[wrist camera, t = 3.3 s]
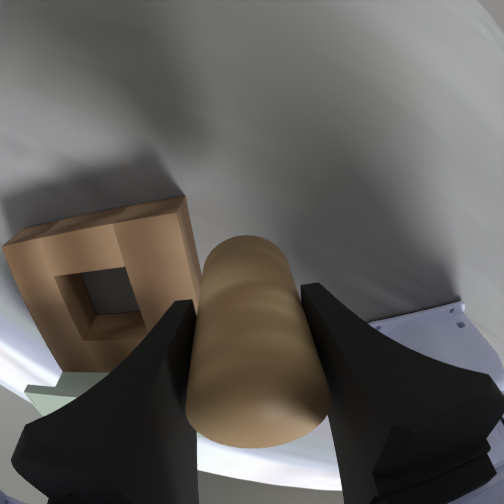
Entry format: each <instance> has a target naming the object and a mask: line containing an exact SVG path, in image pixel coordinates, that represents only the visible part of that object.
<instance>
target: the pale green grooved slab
mask: <svg viewBox="0 0 504 504" xmlns="http://www.w3.org/2000/svg"><path fill="white" fill-rule="evenodd" d="M108 374H109V373H94V372H62V374H61V376H60V378H59V380H58V383H57V385H56V387H48V386H37V385H27V387H26V389H25V391H24V393H25V394H26V396H27V397H28V398H29V400H30V401H31V402H32V403H33V405H34V406H35V407H36V409H37V410H38V411H39V412H40V413H41V415H42V416H43V417H44V416H46V415H48V414H50V413H52V412H54V411H55V410H57V409H59V408H61V407H63V406H64V405H66V404H68V403H69V402H71V401H73V400H74V399H76V398H77V397H79V396H80V395H82V394H83V393H85V392H86V391H87V390H89V389H90V388H91V387H93V386H94V385H95V384H97V383H98V382H99V381H101V380H102V379H103V378H104V377H106V376H107V375H108ZM197 437H204V436H203V435H201V434H200V433H198V432H197Z"/></svg>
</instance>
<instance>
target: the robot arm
mask: <svg viewBox="0 0 504 504" xmlns="http://www.w3.org/2000/svg"><path fill="white" fill-rule="evenodd" d="M301 304H302V307H303V310H304V313H305V316H306V319H307V322H308V325H309V328H310V331H311V334H312V337H313V340H314V343H315V346H316V350H317V353H318V356H319V359H320V362H321V365H322V368H323V372H324V375H325V378H326V381H327V384H328V388H329V391H330V395H331V406H330V410H329V412H328V414H327V415H328V418H329V422H330V427H331V432H332V436H333V441H334V446H335V451H336V456H337V461H338V467H339V473H340V478H341V484H342V491H343V496H344V504H504V370H503V366H502V363H501V360H500V358H499V356H498V354H497V353H496V351H495V350H494V349H493V348H492V346H491V345H490V344H489V343H488V341H487V340H486V339H485V338H484V337H483V335H482V334H481V333H480V332H479V331H478V329H477V328H476V327H475V326H474V325H473V323H472V322H471V321H470V320H469V319H468V318H467V316H466V315H465V314H464V313H463V311H464V308H465V304H464V303H463V302H462V301H459V302H455V303H451V304H447V305H444V306H440V307H436V308H432V309H428V310H423V311H419V312H415V313H411V314H406V315H402V316H397V317H393V318H388V319H384V320H379V321H374V322H370V323H366V322H365V321H363V320H362V319H361V318H359V317H358V316H357V315H356V314H354V313H353V312H352V311H351V310H349V309H348V308H347V307H346V306H345V305H343V304H342V303H341V302H340V301H339V300H338V299H336V298H335V297H334V296H333V295H332V294H331V293H330V292H329V291H328V290H327V289H325V288H324V287H323V286H322V285H321V284H320V283H312V284H305V285H301ZM196 317H197V315H196V311H195V307H194V303H193V300H192V299H187V300H178V301H174V303H173V304H172V305H171V306H170V307H169V309H168V310H167V311H166V312H165V314H164V315H163V316H162V317H161V319H160V320H159V321H158V322H157V324H156V325H155V326H154V327H153V328H152V330H151V331H150V332H149V333H148V335H147V336H146V337H145V338H144V339H143V340H142V341H141V342H140V343H139V345H138V346H137V347H136V348H135V349H134V350H133V351H132V352H131V353H130V354H129V355H128V356H127V357H126V358H125V359H124V360H123V361H122V362H121V363H120V364H119V365H118V366H117V367H116V368H115V369H114V370H113V371H111V372H110V373H109V374H108V375H107V376H106V377H104V378H103V379H102V380H101V381H99V382H98V383H97V384H95V385H94V386H93V387H91V388H90V389H89V390H87V391H86V392H85V393H83V394H82V395H80V396H79V397H77V398H76V399H74V400H73V401H71V402H69V403H68V404H66V405H64V406H63V407H61V408H59V409H57V410H55V411H54V412H52V413H50V414H48V415H46V416H44V417H41V418H39V419H37V420H35V421H33V422H31V423H29V424H26V425H25V427H24V429H23V431H22V434H21V436H20V438H19V441H18V443H17V446H16V448H15V451H14V453H13V456H12V458H11V462H12V465H13V467H14V468H15V470H16V471H17V472H18V473H19V474H20V475H21V476H22V477H23V478H24V479H25V480H26V481H28V482H29V483H30V484H31V485H33V486H34V487H35V488H36V489H38V490H39V491H40V492H42V493H43V494H45V495H46V496H47V497H48V498H49V499H48V503H47V504H199V495H198V481H197V480H198V479H197V431H196V430H195V429H194V428H193V427H192V426H191V424H190V423H189V421H188V419H187V416H186V411H185V407H186V398H187V389H188V380H189V371H190V363H191V355H192V347H193V339H194V332H195V324H196ZM378 326H379V327H378ZM376 327H378V328H376ZM0 504H27V503H24V502H22V501H19V500H17V499H14V498H12V497H9V496H7V495H6V494H5V493H4V492H3V491H2V490H0Z"/></svg>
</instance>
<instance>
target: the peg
mask: <svg viewBox="0 0 504 504" xmlns="http://www.w3.org/2000/svg"><path fill="white" fill-rule="evenodd" d="M330 406H331V395H330V391H329V388H328V384H327V381H326V378H325V375H324V372H323V368H322V365H321V362H320V359H319V356H318V353H317V350H316V346H315V343H314V340H313V337H312V334H311V331H310V328H309V325H308V322H307V319H306V316H305V313H304V310H303V307H302V304H301V301H300V298H299V295H298V292H297V289H296V286H295V283H294V280H293V277H292V274H291V271H290V268H289V265H288V262H287V259H286V257H285V255H284V254H283V252H282V251H281V250H280V249H279V248H278V247H277V246H276V245H275V244H274V243H272V242H270V241H269V240H266V239H264V238H261V237H257V236H249V235H245V236H237V237H233V238H230V239H228V240H225V241H223V242H222V243H220V244H219V245H218V246H216V247H215V248H214V249H213V250H212V251H211V253H210V254H209V255H208V257H207V259H206V261H205V264H204V269H203V275H202V282H201V289H200V295H199V302H198V310H197V317H196V324H195V332H194V339H193V347H192V355H191V363H190V371H189V380H188V389H187V398H186V407H185V411H186V416H187V419H188V421H189V423H190V424H191V426H192V427H193V428H194V429H195V430H196V431H197V432H198V433H200V434H201V435H203V436H204V437H206V438H208V439H210V440H212V441H214V442H217V443H220V444H223V445H227V446H232V447H238V448H266V447H272V446H277V445H282V444H285V443H288V442H291V441H294V440H296V439H298V438H300V437H302V436H304V435H306V434H308V433H309V432H311V431H312V430H314V429H315V428H316V427H317V426H318V425H319V424H320V423H321V422H322V421H323V420H324V419H325V417H326V416H327V414H328V412H329V410H330Z"/></svg>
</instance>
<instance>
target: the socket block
mask: <svg viewBox="0 0 504 504" xmlns="http://www.w3.org/2000/svg"><path fill="white" fill-rule="evenodd" d="M2 250H3V252H4V255H5V257H6V260H7V263H8V265H9V268H10V270H11V272H12V275H13V277H14V280H15V282H16V284H17V286H18V289H19V291H20V293H21V295H22V298H23V300H24V302H25V304H26V306H27V308H28V310H29V312H30V314H31V316H32V318H33V320H34V322H35V324H36V326H37V328H38V330H39V332H40V333H41V335H42V337H43V339H44V341H45V343H46V344H47V346H48V348H49V350H50V351H51V353H52V355H53V357H54V358H55V360H56V362H57V363H58V365H59V367H60V368H61V370H62V371H63V372H94V373H110V372H111V371H113V370H114V369H115V368H116V367H117V366H118V365H119V364H120V363H121V362H122V361H123V360H124V359H125V358H126V357H127V356H128V355H129V354H130V353H131V352H132V351H133V350H134V349H135V348H136V347H137V346H138V345H139V343H140V342H141V341H142V340H143V339H144V338H145V337H146V336H147V335H148V333H149V332H150V331H151V330H152V328H153V327H154V326H155V325H156V324H157V322H158V321H159V320H160V319H161V317H162V316H163V315H164V314H165V312H166V311H167V310H168V309H169V307H170V306H171V305H172V304H173V303H174V301H178V300H187V299H192V300H193V303H194V307H195V311H196V315H197V310H198V302H199V295H200V289H201V282H202V274H201V270H200V265H199V261H198V256H197V251H196V246H195V242H194V237H193V232H192V227H191V222H190V217H189V212H188V207H187V202H186V197H185V196H181V197H175V198H169V199H163V200H158V201H152V202H146V203H141V204H135V205H130V206H125V207H120V208H114V209H109V210H104V211H99V212H95V213H90V214H85V215H80V216H76V217H71V218H67V219H62V220H58V221H53V222H49V223H45V224H41V225H36V226H32V227H28V228H25V229H23V230H22V231H21V232H19V233H18V234H17V235H15V236H14V237H13V238H12V239H10V240H9V241H8V242H7V243H5V244H4V245H3V246H2ZM119 267H125V268H126V271H127V274H128V277H129V280H130V283H131V286H132V289H133V292H134V295H135V298H136V300H137V303H138V306H139V309H140V311H139V312H128V313H116V314H104V315H97V314H96V312H95V310H94V307H93V305H92V302H91V300H90V298H89V295H88V293H87V290H86V288H85V285H84V282H83V280H82V277H81V275H80V273H82V272H89V271H97V270H104V269H112V268H119Z"/></svg>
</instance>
